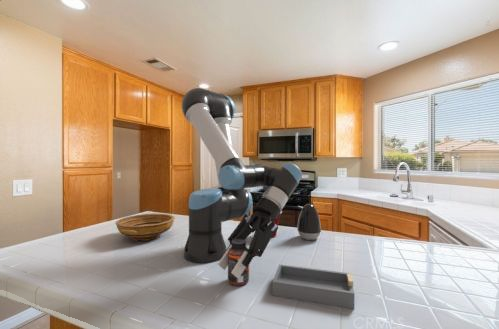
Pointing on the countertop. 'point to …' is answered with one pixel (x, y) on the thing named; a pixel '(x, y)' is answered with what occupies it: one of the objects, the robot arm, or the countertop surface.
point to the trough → (314, 285)
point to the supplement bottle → (233, 258)
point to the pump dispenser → (308, 222)
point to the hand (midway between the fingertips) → (227, 271)
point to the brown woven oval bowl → (145, 225)
